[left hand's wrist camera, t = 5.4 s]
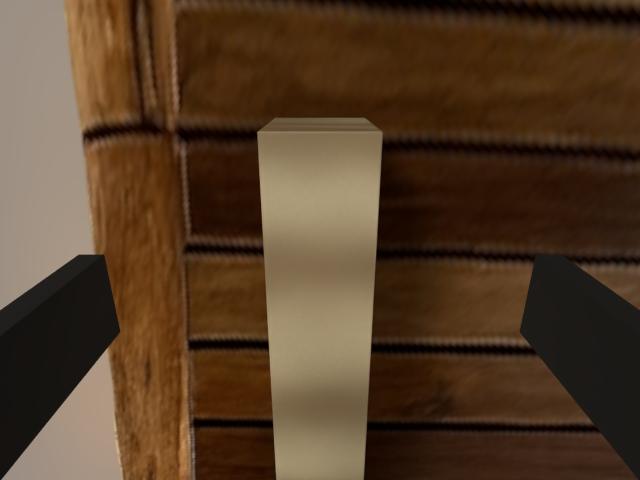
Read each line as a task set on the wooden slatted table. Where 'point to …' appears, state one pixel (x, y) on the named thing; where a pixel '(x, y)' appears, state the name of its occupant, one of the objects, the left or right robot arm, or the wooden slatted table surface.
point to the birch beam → (320, 288)
